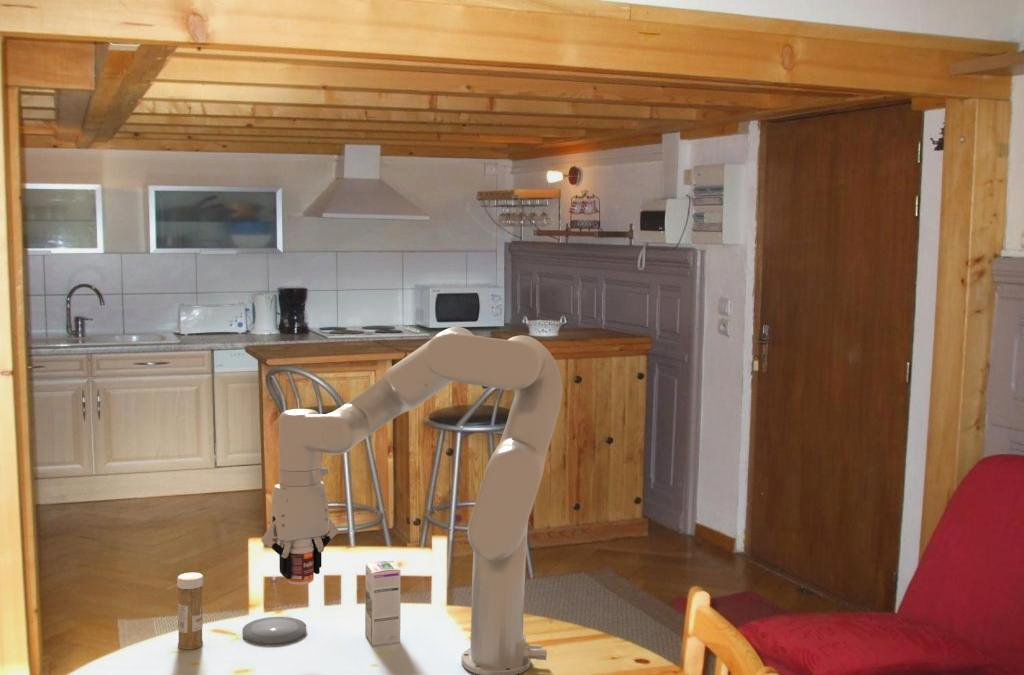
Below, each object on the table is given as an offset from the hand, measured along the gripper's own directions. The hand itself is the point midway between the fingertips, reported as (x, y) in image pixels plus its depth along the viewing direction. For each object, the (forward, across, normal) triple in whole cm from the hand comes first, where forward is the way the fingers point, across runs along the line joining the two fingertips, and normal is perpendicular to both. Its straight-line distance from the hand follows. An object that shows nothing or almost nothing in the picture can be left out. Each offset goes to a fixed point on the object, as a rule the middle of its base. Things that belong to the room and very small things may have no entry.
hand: (300, 573), depth 190 cm
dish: (+14, +1, -10) cm, 18 cm away
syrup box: (+15, -15, +2) cm, 22 cm away
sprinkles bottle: (+14, +17, -12) cm, 25 cm away
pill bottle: (+2, 0, 0) cm, 2 cm away
